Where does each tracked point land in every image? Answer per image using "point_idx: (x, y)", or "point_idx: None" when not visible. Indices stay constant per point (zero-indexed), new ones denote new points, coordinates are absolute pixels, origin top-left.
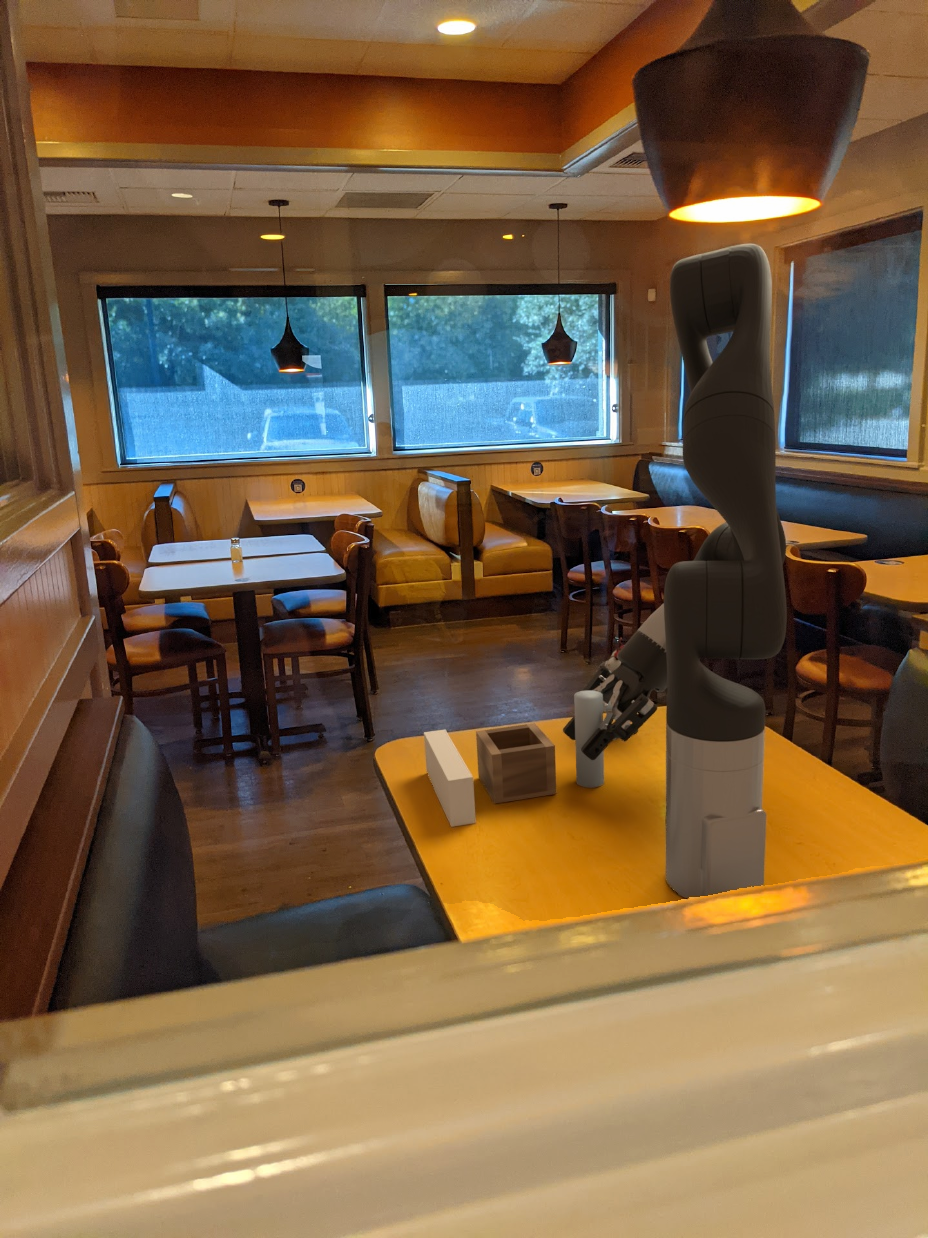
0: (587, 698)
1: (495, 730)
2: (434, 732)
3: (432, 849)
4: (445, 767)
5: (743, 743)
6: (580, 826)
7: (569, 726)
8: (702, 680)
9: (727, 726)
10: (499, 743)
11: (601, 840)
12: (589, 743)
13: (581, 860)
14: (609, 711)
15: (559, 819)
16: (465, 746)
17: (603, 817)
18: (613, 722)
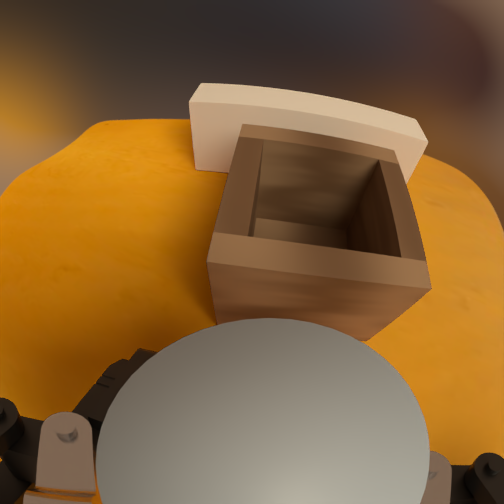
0: (163, 414)
1: (394, 179)
2: (415, 127)
3: (168, 125)
4: (252, 88)
5: None
6: (80, 298)
7: None
8: None
9: None
10: (372, 204)
11: (33, 300)
12: (123, 368)
13: (24, 248)
14: (54, 492)
15: (121, 279)
16: (475, 255)
17: (79, 354)
18: (5, 434)
